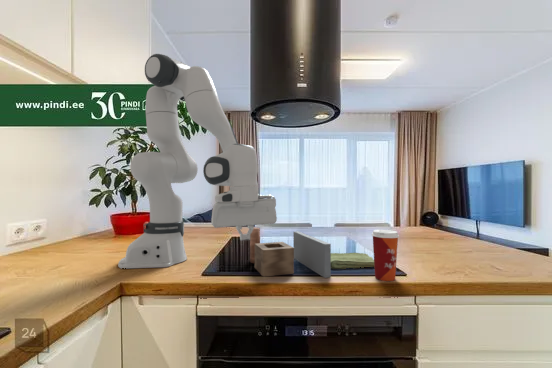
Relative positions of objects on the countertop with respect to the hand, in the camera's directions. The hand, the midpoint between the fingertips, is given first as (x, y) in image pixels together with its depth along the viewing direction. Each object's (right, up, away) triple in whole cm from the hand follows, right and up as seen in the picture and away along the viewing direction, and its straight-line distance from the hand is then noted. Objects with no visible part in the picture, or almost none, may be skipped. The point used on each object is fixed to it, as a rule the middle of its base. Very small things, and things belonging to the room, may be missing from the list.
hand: (245, 240), depth 90 cm
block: (+9, -11, +4) cm, 14 cm away
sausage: (+2, -11, +14) cm, 18 cm away
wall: (+21, -11, +8) cm, 25 cm away
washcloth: (+35, -11, +12) cm, 39 cm away
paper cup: (+42, -11, -4) cm, 44 cm away
